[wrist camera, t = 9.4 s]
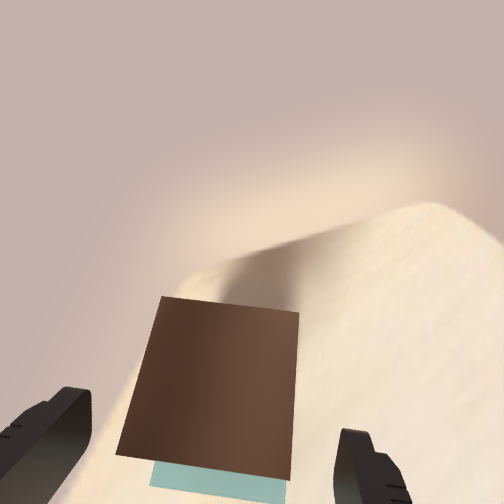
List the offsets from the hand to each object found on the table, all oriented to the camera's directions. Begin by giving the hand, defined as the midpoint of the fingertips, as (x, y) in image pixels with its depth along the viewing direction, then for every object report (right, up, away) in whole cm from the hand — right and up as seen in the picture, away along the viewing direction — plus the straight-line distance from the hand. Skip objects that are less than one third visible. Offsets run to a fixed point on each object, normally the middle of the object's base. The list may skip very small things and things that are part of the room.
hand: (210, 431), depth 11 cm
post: (0, -4, +9) cm, 9 cm away
